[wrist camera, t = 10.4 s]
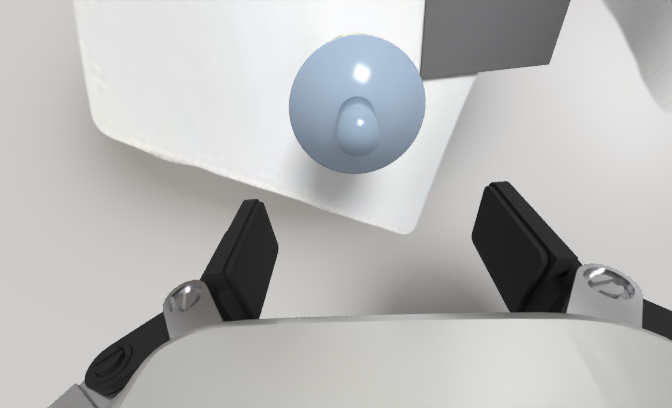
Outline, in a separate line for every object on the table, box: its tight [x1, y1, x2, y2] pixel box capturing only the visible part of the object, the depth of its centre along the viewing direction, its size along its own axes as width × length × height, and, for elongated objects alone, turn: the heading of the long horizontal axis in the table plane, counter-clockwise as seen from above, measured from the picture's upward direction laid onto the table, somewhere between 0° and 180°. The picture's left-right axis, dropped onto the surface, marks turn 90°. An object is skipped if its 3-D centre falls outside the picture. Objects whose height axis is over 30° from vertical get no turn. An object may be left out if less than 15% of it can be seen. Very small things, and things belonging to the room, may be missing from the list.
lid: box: [289, 34, 425, 174], centre depth 22 cm, size 12×12×6 cm
